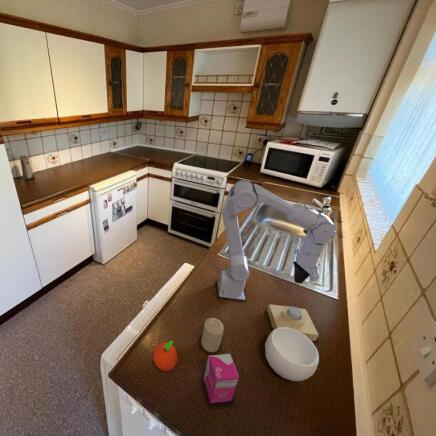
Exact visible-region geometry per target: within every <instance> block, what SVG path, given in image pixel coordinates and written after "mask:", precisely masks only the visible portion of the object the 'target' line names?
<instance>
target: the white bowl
mask: <svg viewBox="0 0 436 436" xmlns="http://www.w3.org/2000/svg"><path fill="white" fill-rule="evenodd" d="M264 349H265V350H264V351H265V358H266V361H267V363H268V365H269V366H270V368H271V369H272V370H273V371H274V372H275V373H276V374H277V375H278V376H280V377H281V378H283V379H285V380H289V381H291V382H303V381H305V380H308V379H309V378H310V377H312V376H314V374H315V373H316V371H317V369H318V365H319V362H320V355H319V352H318V348H317V347H316V345H315V344H314V342H313V341H312V340H310V339H309V338H308V337H306V336H305V335H304V334H302V333H301V332H299V331H297V330H295V329H292V328H288V327H279V328H277V329H275V330H272V331H271V332H270V333H269V334H268V337H267V339H266V342H265V344H264Z"/></svg>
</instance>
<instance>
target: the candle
mask: <svg viewBox="0 0 436 436" xmlns="http://www.w3.org/2000/svg"><path fill="white" fill-rule="evenodd" d="M224 330H225V327H224V324H223V323H222V321H221V320H219V319H218V318H216V317H209V318H207V319H206V320H205V321H204V324H203V329H202V334H201V339H200V344H201V347H202V348H203V350H205V351H206V352H208V353H215V352H217V351H218V350H219V348H220V345H221V341H222V338H223V334H224Z"/></svg>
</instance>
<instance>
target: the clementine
mask: <svg viewBox="0 0 436 436" xmlns="http://www.w3.org/2000/svg"><path fill="white" fill-rule="evenodd" d="M173 343H174V340H169V341H168V342H160V343H158V344H157V346H155V348H154V349H153V353H152V360H153V363H154V365H155V367H156V368H157V369H158V370H160V371H163V372H168V371H171V370H172V369H174V368H175V367H176V365H177V363H178V352H177V349H176V348H175V346H174V345H173Z"/></svg>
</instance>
